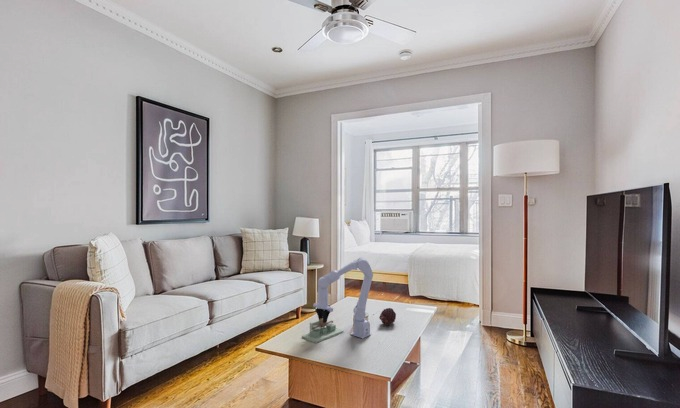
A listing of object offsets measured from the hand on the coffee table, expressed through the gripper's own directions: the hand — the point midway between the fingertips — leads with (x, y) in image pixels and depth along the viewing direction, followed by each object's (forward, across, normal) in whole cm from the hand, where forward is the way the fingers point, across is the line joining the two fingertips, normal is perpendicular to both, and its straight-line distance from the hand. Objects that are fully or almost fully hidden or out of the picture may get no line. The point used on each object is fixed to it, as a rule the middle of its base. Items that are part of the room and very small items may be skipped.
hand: (323, 321), depth 205 cm
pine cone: (+8, +17, +41) cm, 45 cm away
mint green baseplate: (+8, 0, 0) cm, 8 cm away
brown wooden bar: (+2, 0, 0) cm, 2 cm away
